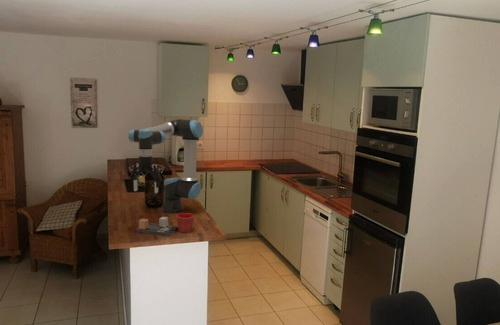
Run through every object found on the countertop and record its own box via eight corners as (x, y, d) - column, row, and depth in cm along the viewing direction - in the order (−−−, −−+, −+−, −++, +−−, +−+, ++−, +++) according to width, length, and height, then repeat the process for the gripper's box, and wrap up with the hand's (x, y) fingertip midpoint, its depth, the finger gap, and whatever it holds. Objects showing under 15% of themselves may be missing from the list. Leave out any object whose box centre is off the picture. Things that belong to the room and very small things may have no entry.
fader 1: (142, 226, 255) (142, 218, 254) (148, 227, 253) (148, 219, 253) (139, 228, 251) (138, 220, 250) (144, 229, 250) (144, 221, 249)
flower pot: (194, 227, 262) (194, 212, 260) (192, 233, 251) (193, 218, 249) (177, 227, 261) (177, 212, 260) (175, 233, 251) (175, 217, 249)
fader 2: (162, 224, 259) (162, 216, 259) (168, 225, 258) (168, 217, 257) (159, 226, 256) (159, 218, 255) (165, 227, 254) (164, 219, 254)
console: (146, 225, 263) (146, 222, 263) (178, 230, 256) (178, 227, 256) (136, 231, 252) (136, 228, 251) (168, 236, 245) (168, 233, 245)
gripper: (123, 155, 242) (123, 191, 246) (162, 158, 235) (162, 195, 239) (130, 153, 249) (130, 188, 253) (168, 156, 243) (168, 192, 246)
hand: (146, 191), depth 246 cm, fingers open, 13 cm apart
